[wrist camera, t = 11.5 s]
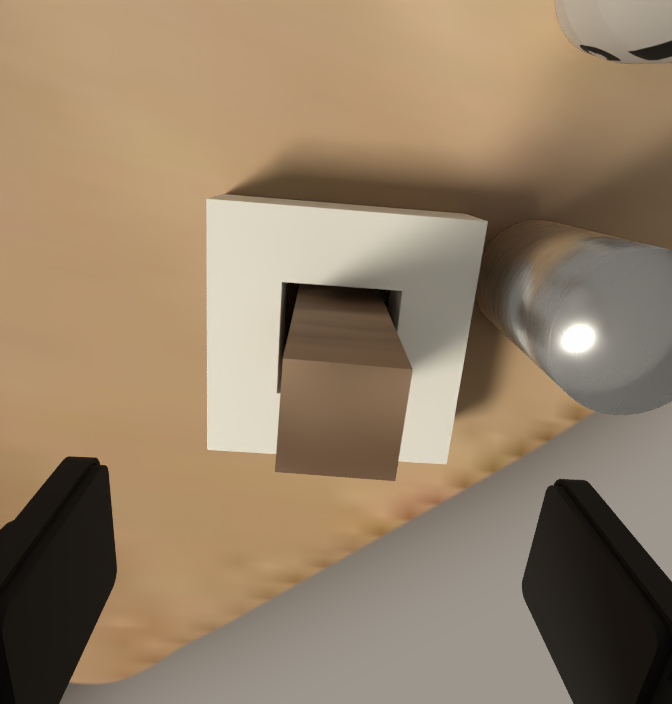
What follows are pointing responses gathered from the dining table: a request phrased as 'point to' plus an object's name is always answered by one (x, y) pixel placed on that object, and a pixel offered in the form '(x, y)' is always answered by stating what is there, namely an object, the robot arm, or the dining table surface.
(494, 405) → the dining table surface
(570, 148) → the dining table surface
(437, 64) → the dining table surface
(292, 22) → the dining table surface
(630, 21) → the cup
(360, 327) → the walnut peg
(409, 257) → the bore block
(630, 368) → the grey cylinder
